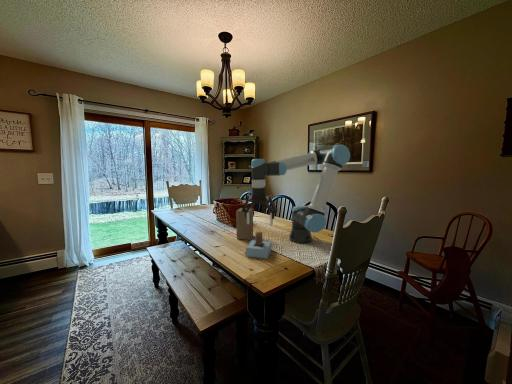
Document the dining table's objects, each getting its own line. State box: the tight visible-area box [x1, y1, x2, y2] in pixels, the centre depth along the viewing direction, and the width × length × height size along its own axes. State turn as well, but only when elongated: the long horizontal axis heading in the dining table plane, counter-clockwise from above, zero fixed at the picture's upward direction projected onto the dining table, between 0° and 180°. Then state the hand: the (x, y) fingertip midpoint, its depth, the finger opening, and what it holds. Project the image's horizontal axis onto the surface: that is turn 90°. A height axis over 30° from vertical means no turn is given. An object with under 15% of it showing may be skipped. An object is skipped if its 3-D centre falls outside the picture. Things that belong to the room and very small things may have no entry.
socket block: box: [245, 239, 272, 259], centre depth 118 cm, size 12×12×5 cm
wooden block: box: [235, 207, 254, 241], centre depth 143 cm, size 10×10×20 cm
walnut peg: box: [254, 231, 264, 247], centre depth 118 cm, size 4×4×12 cm
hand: (259, 224), depth 116 cm, fingers open, 13 cm apart
